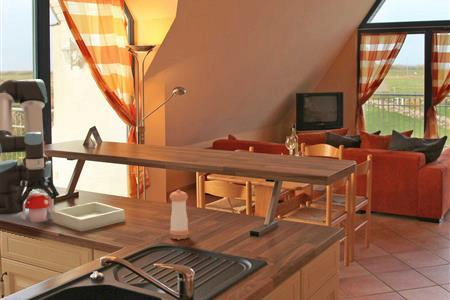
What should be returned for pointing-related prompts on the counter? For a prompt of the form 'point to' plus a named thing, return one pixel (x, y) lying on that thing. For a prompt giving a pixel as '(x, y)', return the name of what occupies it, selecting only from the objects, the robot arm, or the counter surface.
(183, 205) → the pepper shaker
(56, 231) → the counter surface
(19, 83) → the robot arm
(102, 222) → the tub
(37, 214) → the mushroom
